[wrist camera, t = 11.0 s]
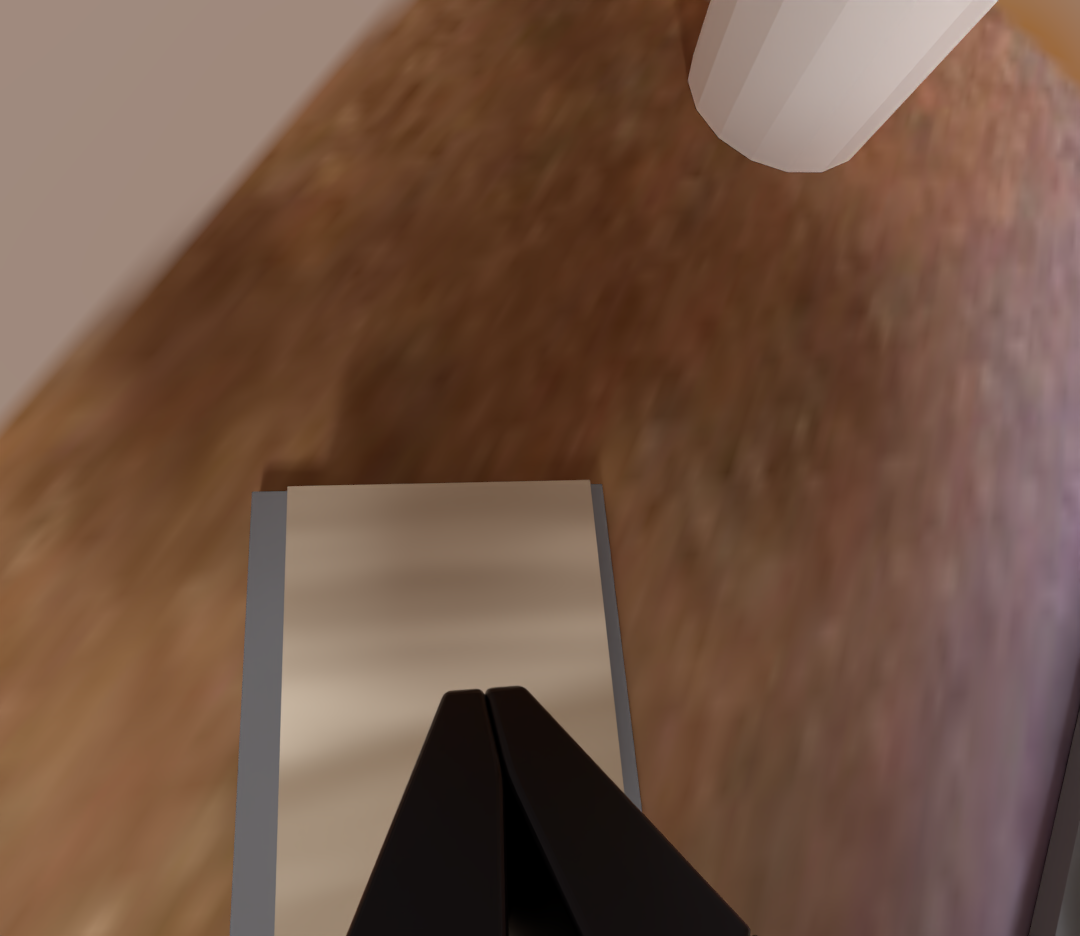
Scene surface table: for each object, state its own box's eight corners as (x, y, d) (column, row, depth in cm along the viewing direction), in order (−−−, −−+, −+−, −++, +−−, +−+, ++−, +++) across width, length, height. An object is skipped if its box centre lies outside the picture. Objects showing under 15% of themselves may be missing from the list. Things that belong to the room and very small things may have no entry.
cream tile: (646, 986, 10) (590, 479, 13) (271, 1047, 9) (287, 486, 12) (600, 939, 13) (560, 518, 15) (295, 986, 12) (305, 527, 14)
